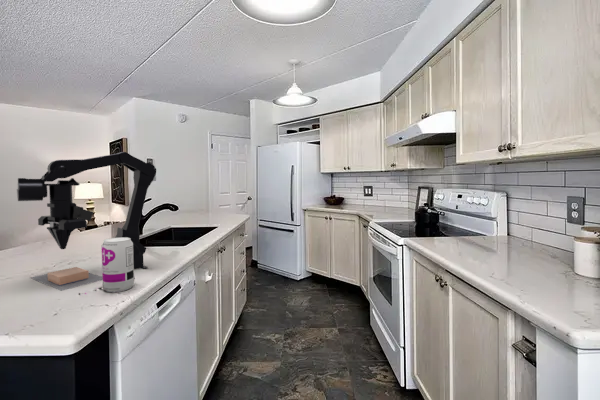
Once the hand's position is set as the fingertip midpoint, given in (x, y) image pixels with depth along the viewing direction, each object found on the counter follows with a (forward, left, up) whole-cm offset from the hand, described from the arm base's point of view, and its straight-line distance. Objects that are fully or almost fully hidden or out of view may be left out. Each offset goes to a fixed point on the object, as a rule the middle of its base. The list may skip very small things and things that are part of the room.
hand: (63, 248), depth 100 cm
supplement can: (-20, -6, -11) cm, 24 cm away
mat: (0, -1, -11) cm, 11 cm away
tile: (+2, 0, -8) cm, 8 cm away
